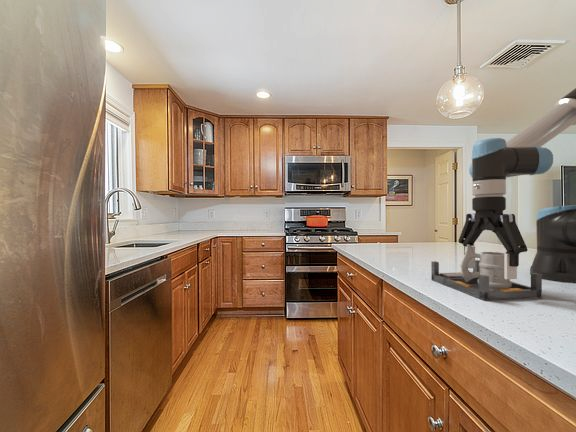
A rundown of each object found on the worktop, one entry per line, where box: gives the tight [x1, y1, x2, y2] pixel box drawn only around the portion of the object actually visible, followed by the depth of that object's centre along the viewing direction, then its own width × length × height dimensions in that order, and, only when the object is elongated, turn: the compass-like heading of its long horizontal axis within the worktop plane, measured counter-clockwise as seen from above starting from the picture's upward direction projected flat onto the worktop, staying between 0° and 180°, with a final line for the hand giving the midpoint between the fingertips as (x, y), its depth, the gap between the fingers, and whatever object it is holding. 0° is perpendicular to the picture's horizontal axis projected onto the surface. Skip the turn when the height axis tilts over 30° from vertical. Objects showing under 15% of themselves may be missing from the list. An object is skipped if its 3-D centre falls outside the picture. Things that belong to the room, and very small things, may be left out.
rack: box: [430, 259, 543, 302], centre depth 80 cm, size 16×21×6 cm
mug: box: [459, 245, 512, 291], centre depth 78 cm, size 8×12×12 cm, turn 58°
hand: (488, 273), depth 77 cm, fingers open, 13 cm apart
